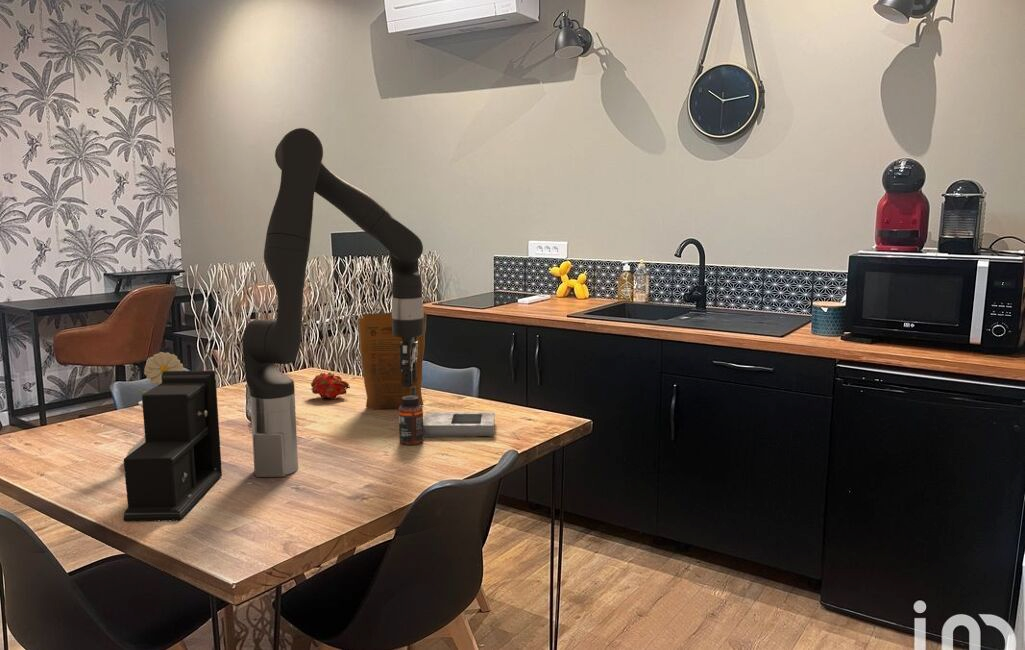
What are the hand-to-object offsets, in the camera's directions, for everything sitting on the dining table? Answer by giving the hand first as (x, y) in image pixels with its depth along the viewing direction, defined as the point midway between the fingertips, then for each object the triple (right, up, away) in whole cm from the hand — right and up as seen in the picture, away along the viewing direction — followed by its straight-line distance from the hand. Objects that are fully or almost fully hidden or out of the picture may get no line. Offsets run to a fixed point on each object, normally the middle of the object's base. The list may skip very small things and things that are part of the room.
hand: (409, 381), depth 185 cm
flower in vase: (-56, -17, -11) cm, 59 cm away
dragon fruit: (-30, -8, +44) cm, 54 cm away
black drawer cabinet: (-42, -21, -33) cm, 57 cm away
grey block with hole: (+11, -13, +12) cm, 21 cm away
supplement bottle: (0, -15, +2) cm, 15 cm away
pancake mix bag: (-9, -10, +34) cm, 36 cm away
